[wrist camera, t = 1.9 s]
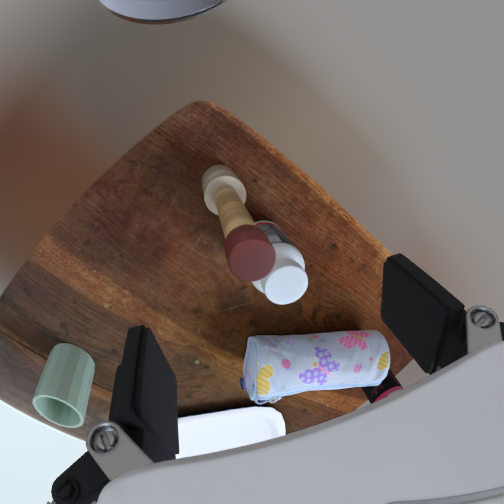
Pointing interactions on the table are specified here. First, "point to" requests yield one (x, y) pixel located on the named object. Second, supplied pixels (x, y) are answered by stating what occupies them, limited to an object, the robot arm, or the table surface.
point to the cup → (65, 386)
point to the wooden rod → (237, 225)
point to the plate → (227, 429)
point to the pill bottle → (282, 268)
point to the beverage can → (383, 388)
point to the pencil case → (313, 363)
